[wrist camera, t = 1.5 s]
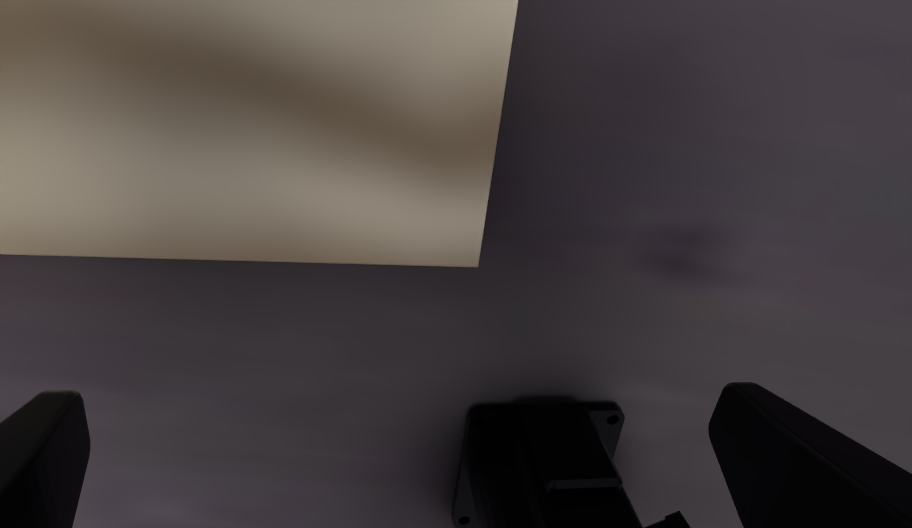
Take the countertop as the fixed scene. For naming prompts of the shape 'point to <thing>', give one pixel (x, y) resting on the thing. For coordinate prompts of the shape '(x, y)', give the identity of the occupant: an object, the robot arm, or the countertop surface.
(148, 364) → the countertop surface
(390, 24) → the board
